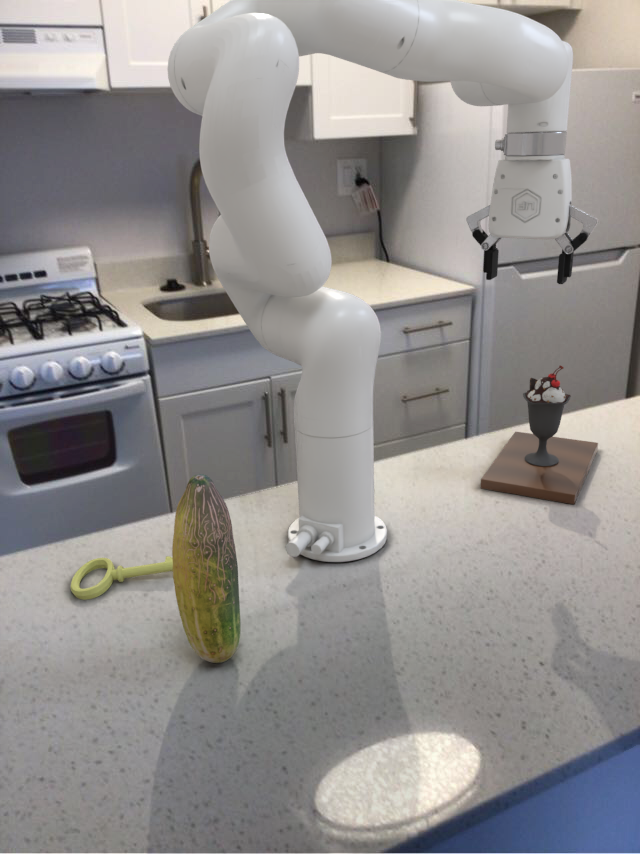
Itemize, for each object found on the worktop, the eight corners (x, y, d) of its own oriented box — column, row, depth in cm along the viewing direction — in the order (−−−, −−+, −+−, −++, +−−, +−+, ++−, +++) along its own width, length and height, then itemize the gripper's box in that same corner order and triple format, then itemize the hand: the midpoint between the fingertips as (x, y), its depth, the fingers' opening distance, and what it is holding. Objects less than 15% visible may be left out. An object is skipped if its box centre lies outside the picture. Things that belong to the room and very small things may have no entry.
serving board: (574, 504, 103) (575, 494, 102) (480, 488, 108) (480, 478, 108) (597, 451, 119) (598, 442, 118) (514, 439, 125) (515, 431, 124)
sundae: (567, 470, 109) (576, 370, 104) (519, 467, 111) (525, 369, 105) (563, 452, 115) (571, 357, 110) (517, 450, 117) (523, 356, 111)
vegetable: (174, 672, 73) (150, 485, 66) (195, 633, 79) (174, 457, 72) (234, 677, 72) (216, 488, 65) (251, 637, 78) (236, 459, 71)
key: (181, 578, 89) (179, 562, 88) (73, 604, 85) (70, 588, 84) (169, 550, 95) (167, 535, 95) (67, 573, 91) (65, 558, 90)
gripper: (461, 149, 99) (456, 281, 105) (600, 147, 91) (586, 289, 97) (478, 148, 105) (473, 272, 111) (610, 146, 97) (596, 279, 103)
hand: (525, 280), depth 104 cm, fingers open, 9 cm apart
